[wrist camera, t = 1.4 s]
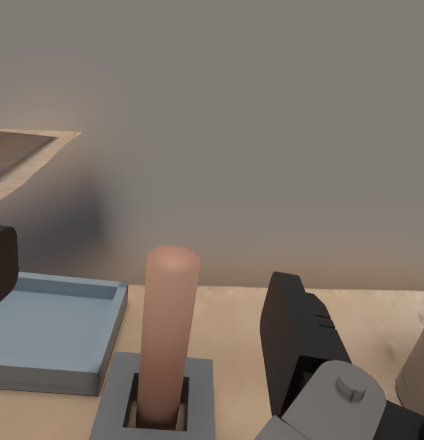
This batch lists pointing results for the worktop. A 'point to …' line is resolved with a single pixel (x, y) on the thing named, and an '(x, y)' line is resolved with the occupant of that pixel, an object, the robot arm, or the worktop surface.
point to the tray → (59, 333)
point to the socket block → (128, 390)
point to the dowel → (165, 334)
